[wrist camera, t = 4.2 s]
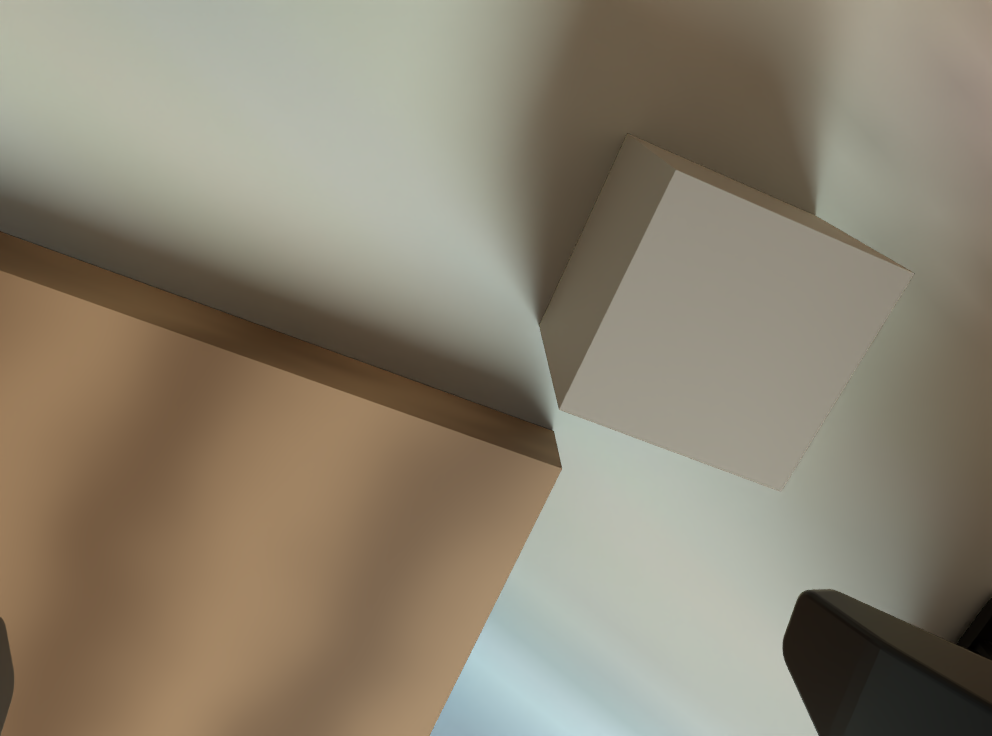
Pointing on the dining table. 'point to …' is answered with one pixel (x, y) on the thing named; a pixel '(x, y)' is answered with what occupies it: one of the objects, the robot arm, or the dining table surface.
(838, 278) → the grey block
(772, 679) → the dining table surface
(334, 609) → the walnut board
